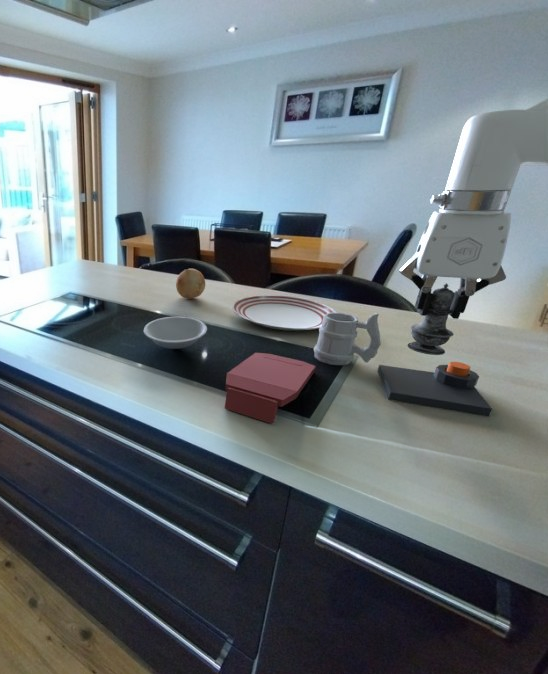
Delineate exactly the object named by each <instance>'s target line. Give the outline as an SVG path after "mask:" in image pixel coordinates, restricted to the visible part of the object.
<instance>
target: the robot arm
mask: <svg viewBox="0 0 548 674" xmlns="http://www.w3.org/2000/svg"><path fill="white" fill-rule="evenodd" d="M522 166H523V167H525V166H529V167H530V166H539V167H541V166H543V167H544V166H548V98H546V99H544V100H542V101H540V102H538V103H536V104H534V105H531V106H530V107H528V108H526V109H505V110H495V111H487V112H481V113H478V114H475V115H473V116H472V117H470V118H469V119H467V121H466V122H465V124H464V126H463V128H462V131H461V134H460V138H459V141H458V145H457V148H456V151H455V156H454V158H453V162H452V165H451V169H450V172H449V175H448V179H447V182H446V186H445V189H444V190H443V191H442V192H441V193H439V194H433V195H432V196H431V197H430V205H436V206H438V208H439V210H435V211H433V212H432V214H431V216H430V218H429V220H428V221H427V224H426V226H425V228H424V229H423V233H422V235H421V237H420V240H419V242H418V245H417V247H416V250H415V253H414V255H413V256H412V257H411V258H410V259H409V260H408V261H407V262H406V263H405V264H404V265H403V266H402V267H401V268H400V269H399V270H398V272H399V273H400V274H401V275H402V276H403V277H405V278H406V279H408V280H410V281H412V283H413V285H415V287H417V288H418V292H417V293H418V294H417V296H416V300H415V303H414V309H415V310H416V312H417V313H418V314H419V315H420V316H423V317H425V315H427V313H428V310H429V306H430V303H431V300H432V297H433V294H432V293H433V292H432V288H433V287H434V284H435V283H436V280H437V279H438V278H455V279H456V278H457V279H460V281H459V288H457V290H455V292H454V291H453V292H454V298H453V301H452V304H451V307H450V310H451V311H452V313H449V315H448V316H450V317H451V318H452V319H454V320H458V319H460V316H461V314H464V313H465V311H466V308H467V305H468V302H469V299H470V297H472V296H474V295H475V293H477V292H479V291H481V290H483V289H485V288H486V287H488V286H490V285H494V284H497V283H500V282H503V281H505V280H506V279H507V275H506V272H505V271H504V268H503V266H502V262H503V260H504V256H505V252H506V248H507V244H508V239H509V235H510V233H509V232H510V229H511V219H512V213H511V212H505V210H506V207H507V204H508V201H509V198H510V194H511V193H512V190H513V188H514V184H515V181H516V180H517V176H518V174H519V171H520V168H521V167H522ZM414 270H417V272H418V273H420V274H422V275H419V274H418V273H416V272H414Z"/></svg>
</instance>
